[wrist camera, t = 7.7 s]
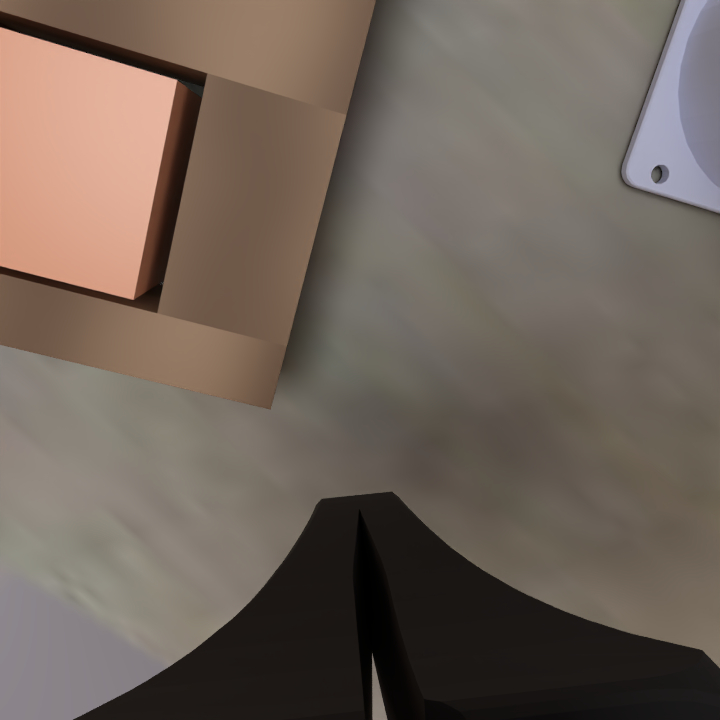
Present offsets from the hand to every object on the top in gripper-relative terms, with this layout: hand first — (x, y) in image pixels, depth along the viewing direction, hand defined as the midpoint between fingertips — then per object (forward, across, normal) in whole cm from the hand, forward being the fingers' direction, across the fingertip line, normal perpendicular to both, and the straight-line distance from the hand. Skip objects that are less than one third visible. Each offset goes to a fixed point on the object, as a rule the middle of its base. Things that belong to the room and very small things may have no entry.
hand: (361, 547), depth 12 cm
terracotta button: (+8, +6, -7) cm, 12 cm away
